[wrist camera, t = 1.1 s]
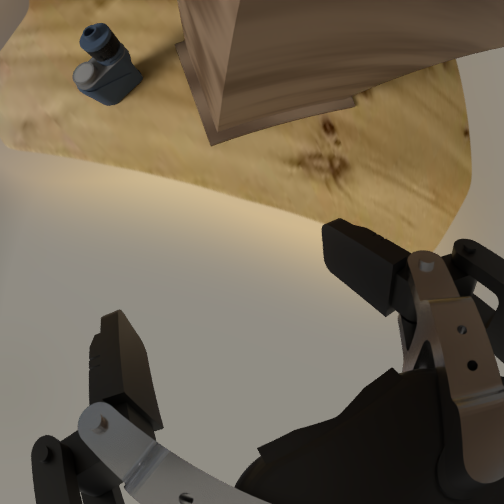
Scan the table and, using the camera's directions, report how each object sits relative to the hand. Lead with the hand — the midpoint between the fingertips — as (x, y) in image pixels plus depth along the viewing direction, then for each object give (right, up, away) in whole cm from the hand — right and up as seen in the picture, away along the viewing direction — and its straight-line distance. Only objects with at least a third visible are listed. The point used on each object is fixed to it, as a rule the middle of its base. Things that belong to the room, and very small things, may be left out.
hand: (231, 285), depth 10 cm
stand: (+2, +20, +14) cm, 25 cm away
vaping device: (-13, +18, +13) cm, 26 cm away
